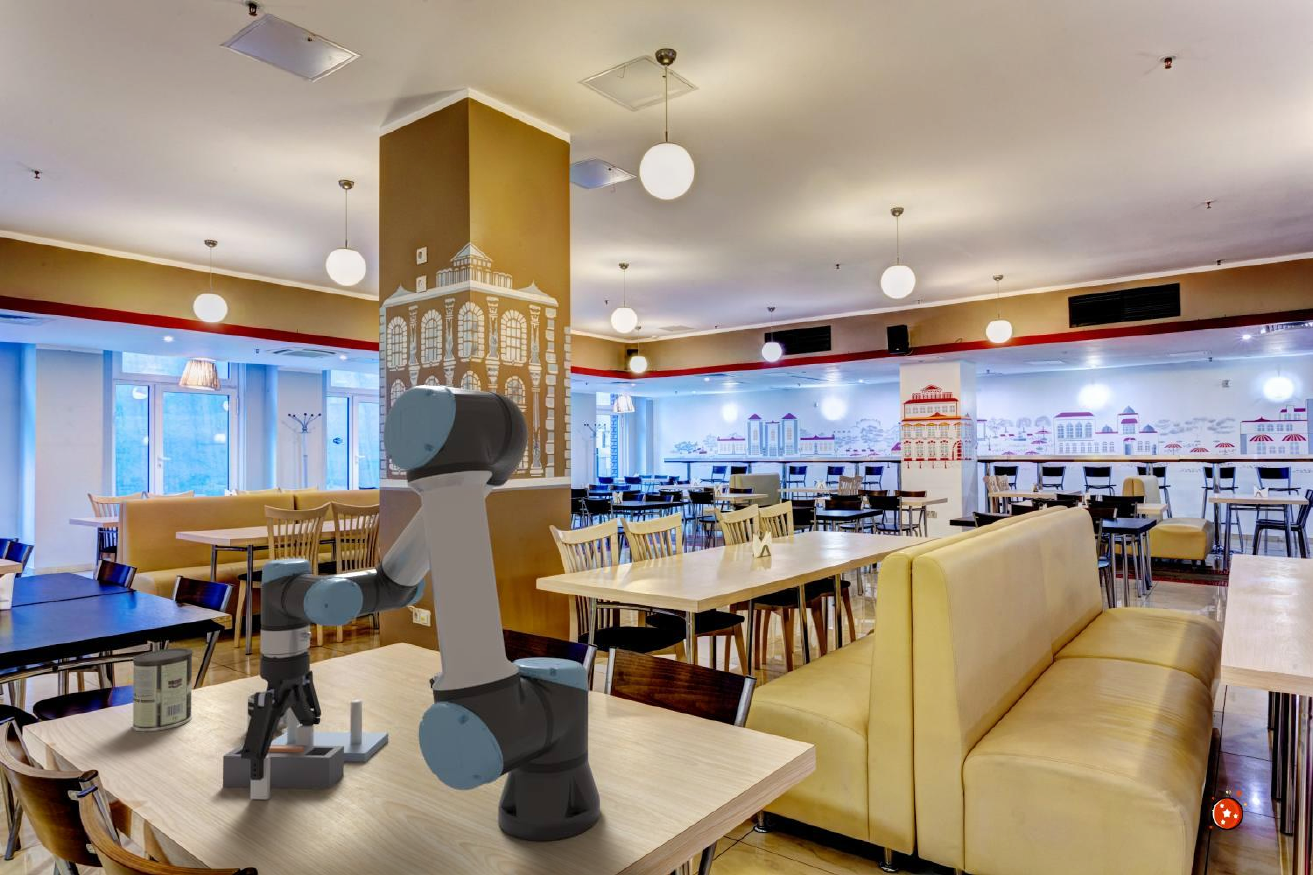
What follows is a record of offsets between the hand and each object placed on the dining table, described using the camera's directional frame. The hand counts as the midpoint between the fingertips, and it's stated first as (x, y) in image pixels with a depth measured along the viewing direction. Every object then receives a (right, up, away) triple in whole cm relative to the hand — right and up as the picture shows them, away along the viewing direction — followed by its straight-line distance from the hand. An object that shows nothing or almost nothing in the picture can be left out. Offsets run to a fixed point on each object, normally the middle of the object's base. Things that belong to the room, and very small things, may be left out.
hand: (283, 780), depth 124 cm
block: (0, 0, 0) cm, 0 cm away
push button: (+18, -1, +27) cm, 32 cm away
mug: (-15, -1, +24) cm, 28 cm away
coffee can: (-39, -2, +29) cm, 49 cm away
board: (+1, -1, +14) cm, 14 cm away
